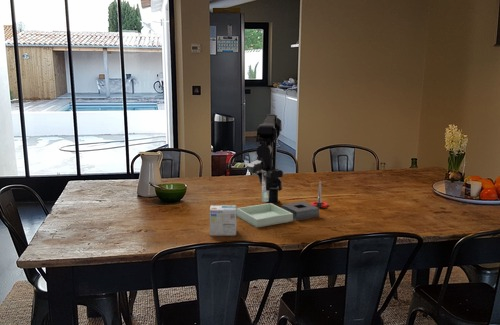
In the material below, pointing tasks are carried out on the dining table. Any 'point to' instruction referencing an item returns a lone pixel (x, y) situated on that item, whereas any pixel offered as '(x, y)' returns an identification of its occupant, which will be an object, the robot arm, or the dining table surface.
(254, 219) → the tray
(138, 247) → the dining table surface
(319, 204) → the tow hook
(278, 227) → the dining table surface
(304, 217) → the hitch block
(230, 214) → the light bulb box
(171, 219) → the dining table surface
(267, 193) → the pin
